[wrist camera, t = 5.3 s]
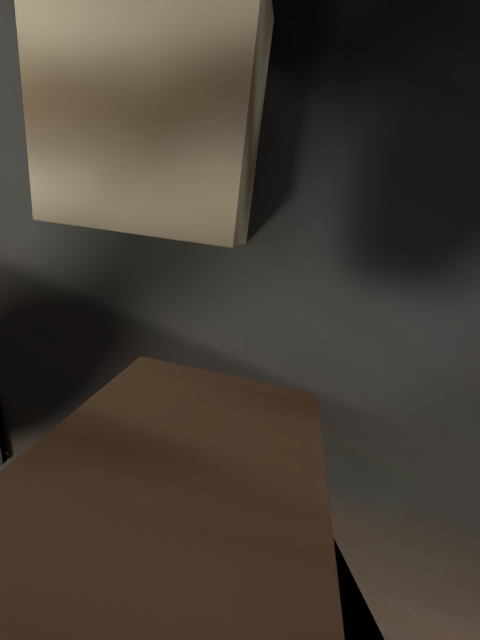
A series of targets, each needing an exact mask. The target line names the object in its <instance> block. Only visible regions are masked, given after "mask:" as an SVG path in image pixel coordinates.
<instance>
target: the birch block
mask: <svg viewBox="0 0 480 640" xmlns="http://www.w3.org/2000/svg"><path fill="white" fill-rule="evenodd" d="M14 2H15V13H16V25H17V36H18V48H19V60H20V71H21V83H22V95H23V106H24V118H25V129H26V141H27V153H28V164H29V176H30V187H31V199H32V211H33V220H40V221H47V222H54V223H61V224H68V225H75V226H82V227H89V228H96V229H103V230H110V231H117V232H124V233H131V234H138V235H145V236H152V237H159V238H166V239H173V240H181V241H188V242H195V243H202V244H209V245H216V246H223V247H230V248H234V247H237V246H240V245H243V244H246V241H247V232H248V224H249V216H250V208H251V200H252V192H253V184H254V176H255V168H256V160H257V152H258V144H259V136H260V127H261V119H262V111H263V103H264V95H265V87H266V79H267V71H268V63H269V55H270V47H271V39H272V30H273V22H274V14H273V6H272V0H14Z"/></svg>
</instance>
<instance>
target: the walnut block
mask: <svg viewBox="0 0 480 640" xmlns="http://www.w3.org/2000/svg"><path fill="white" fill-rule="evenodd" d="M0 640H345V638H344V629H343V620H342V611H341V602H340V593H339V584H338V575H337V566H336V557H335V548H334V539H333V530H332V520H331V511H330V502H329V493H328V484H327V475H326V466H325V457H324V448H323V439H322V430H321V421H320V412H319V403H318V394H315V393H310V392H306V391H301V390H296V389H292V388H287V387H282V386H277V385H273V384H268V383H263V382H259V381H254V380H249V379H245V378H240V377H235V376H231V375H226V374H221V373H217V372H212V371H207V370H202V369H198V368H193V367H188V366H184V365H179V364H174V363H170V362H165V361H160V360H156V359H151V358H146V357H142V356H140V357H139V358H138V359H137V360H135V361H134V362H133V363H132V364H131V365H129V366H128V367H127V368H126V369H124V370H123V371H122V372H121V373H120V374H118V375H117V376H116V377H115V378H114V379H112V380H111V381H110V382H109V383H108V384H106V385H105V386H104V387H103V388H102V389H100V390H99V391H98V392H97V393H95V394H94V395H93V396H92V397H91V398H89V399H88V400H87V401H86V402H85V403H83V404H82V405H81V406H80V407H79V408H77V409H76V410H75V411H74V412H72V413H71V414H70V415H69V416H68V417H66V418H65V419H64V420H63V421H62V422H60V423H59V424H58V425H57V426H56V427H54V428H53V429H52V430H51V431H49V432H48V433H47V434H46V435H45V436H43V437H42V438H41V439H40V440H39V441H37V442H36V443H35V444H34V445H33V446H31V447H30V448H29V449H28V450H26V451H25V452H24V453H23V454H22V455H20V456H19V457H18V458H17V459H16V460H14V461H13V462H12V463H11V464H10V465H8V466H7V467H6V468H5V469H4V470H2V471H1V472H0Z"/></svg>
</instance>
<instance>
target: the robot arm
mask: <svg viewBox="0 0 480 640" xmlns="http://www.w3.org/2000/svg"><path fill="white" fill-rule="evenodd" d="M6 461H7V455H6V449H5V442H4V435H3V429H2V422H1V416H0V465H2V464H4V463H5V462H6ZM333 539H334V537H333ZM334 548H335V557H336V566H337V575H338V584H339V593H340V602H341V611H342V620H343V629H344V638H345V640H384V638H383V636H382V634H381V632H380V630H379V628H378V626H377V624H376V622H375V620H374V618H373V616H372V614H371V612H370V610H369V608H368V606H367V604H366V602H365V600H364V598H363V596H362V594H361V592H360V590H359V588H358V586H357V583H356V581H355V579H354V577H353V575H352V573H351V571H350V569H349V567H348V565H347V563H346V561H345V559H344V557H343V555H342V553H341V551H340V549H339V547H338V545H337V543H336V541H335V539H334Z"/></svg>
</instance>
